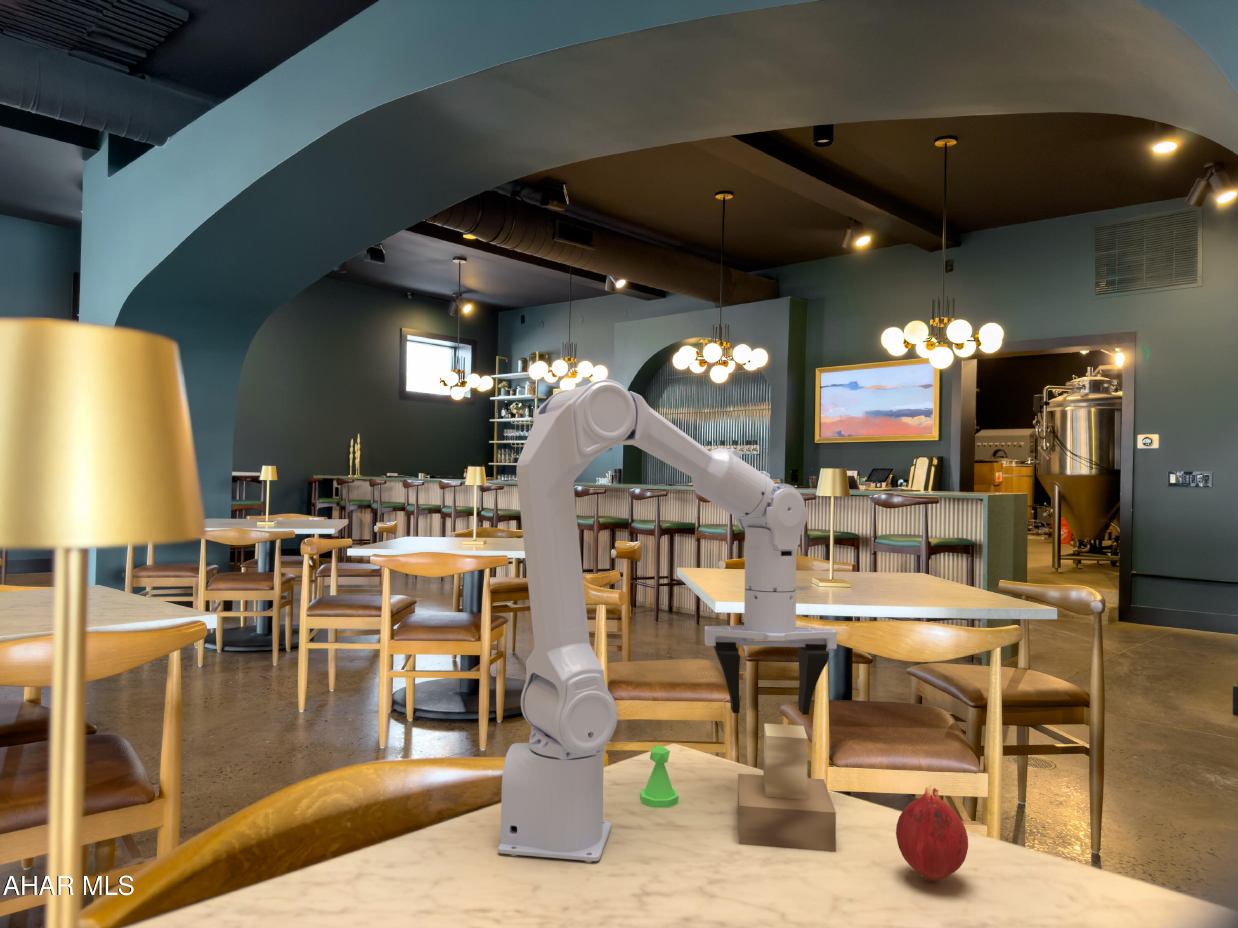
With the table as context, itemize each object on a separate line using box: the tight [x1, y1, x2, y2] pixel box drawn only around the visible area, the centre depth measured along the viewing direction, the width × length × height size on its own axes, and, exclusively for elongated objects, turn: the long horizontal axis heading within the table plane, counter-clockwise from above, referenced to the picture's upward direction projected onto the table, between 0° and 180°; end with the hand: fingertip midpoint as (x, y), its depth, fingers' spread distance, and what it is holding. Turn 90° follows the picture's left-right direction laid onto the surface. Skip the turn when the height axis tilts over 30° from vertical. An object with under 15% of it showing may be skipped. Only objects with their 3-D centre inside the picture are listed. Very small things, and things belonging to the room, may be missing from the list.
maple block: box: [762, 723, 809, 800], centre depth 77 cm, size 4×4×6 cm
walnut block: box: [737, 773, 837, 853], centre depth 77 cm, size 9×9×4 cm
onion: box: [895, 785, 969, 883], centre depth 66 cm, size 6×6×8 cm
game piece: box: [639, 744, 679, 809], centre depth 83 cm, size 4×4×6 cm
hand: (769, 711), depth 85 cm, fingers open, 7 cm apart
